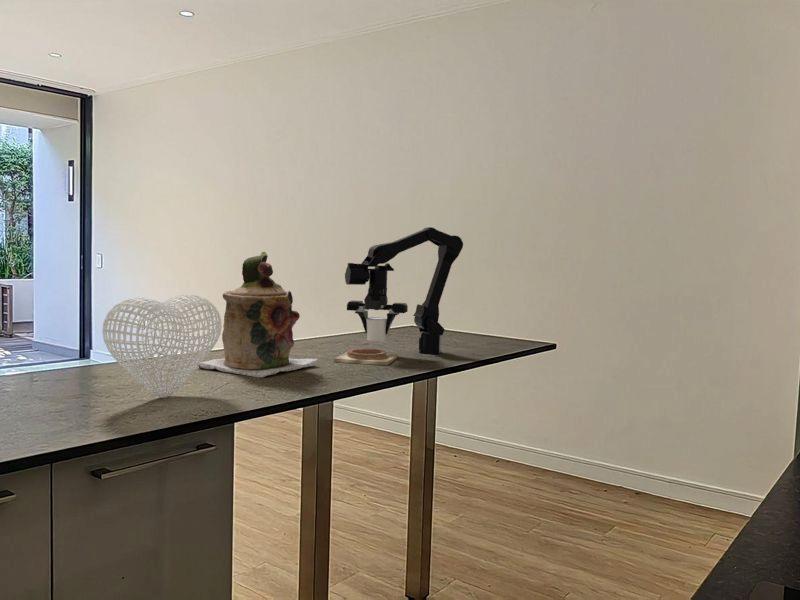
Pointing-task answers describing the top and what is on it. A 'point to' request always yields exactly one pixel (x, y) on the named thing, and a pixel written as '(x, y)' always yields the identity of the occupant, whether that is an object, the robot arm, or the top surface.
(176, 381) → the heart
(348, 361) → the collar board
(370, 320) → the white cylinder
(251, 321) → the cookie jar
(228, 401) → the top surface
